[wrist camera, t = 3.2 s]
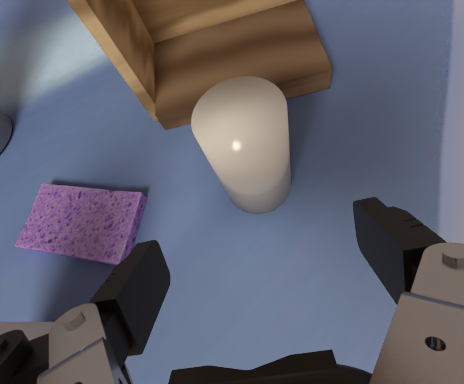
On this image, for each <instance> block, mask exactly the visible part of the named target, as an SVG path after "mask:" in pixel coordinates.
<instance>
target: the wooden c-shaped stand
mask: <svg viewBox="0 0 464 384" xmlns="http://www.w3.org/2000/svg"><path fill="white" fill-rule="evenodd" d="M67 1H68V3H69V4H70V5H71V7H72V8H73V10H74V11H75V12H76V14H77V15H78V17H79V18H80V19H81V21H82V22H83V23H84V25H85V26H86V28H87V29H88V30H89V32H90V33H91V34H92V36H93V37H94V39H95V40H96V41H97V43H98V44H99V45H100V47H101V48H102V50H103V51H104V52H105V54H106V55H107V56H108V58H109V59H110V61H111V62H112V63H113V65H114V66H115V67H116V69H117V70H118V72H119V73H120V74H121V76H122V77H123V78H124V80H125V81H126V83H127V84H128V85H129V87H130V88H131V89H132V91H133V92H134V94H135V95H136V96H137V98H138V99H139V100H140V102H141V103H142V105H143V106H144V107H145V109H146V110H147V111H148V113H149V114H150V116H151V117H152V118H153V120H154V121H155V122H157V121H159V122H160V123H161V124H162V126H163V127H164V129H165V130H167V129H171V128H175V127H179V126H183V125H187V124H191V118H192V113H193V110H194V108H195V106H196V104H197V102H198V101H199V99H200V98H201V97H202V96H203V95H204V94H205V93H206V92H207V91H208V90H209V89H210V88H212V87H213V86H215V85H217V84H218V83H220V82H223V81H225V80H228V79H231V78H235V77H242V76H253V77H259V78H262V79H265V80H268V81H270V82H271V83H273V84H275V85H276V86H277V87H278V88H279V89H280V90H281V91H282V93H283V95H284V97H285V99H289V98H292V97H296V96H300V95H304V94H308V93H312V92H316V91H320V90H324V89H328V88H330V82H331V75H332V67H331V64H330V62H329V59H328V57H327V54H326V52H325V50H324V47H323V45H322V42H321V40H320V37H319V35H318V33H317V30H316V28H315V25H314V23H313V20H312V18H311V15H310V13H309V11H308V8H307V6H306V3H305V1H304V0H67Z"/></svg>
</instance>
